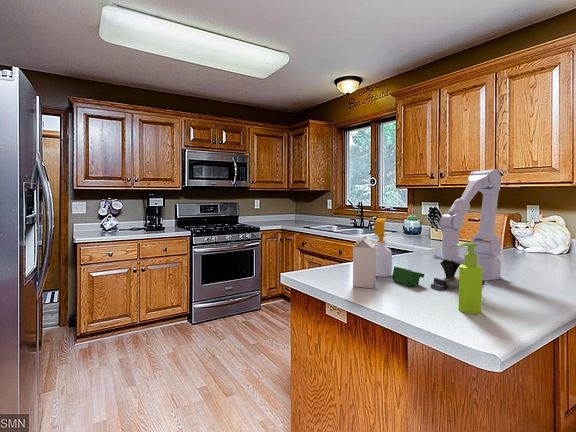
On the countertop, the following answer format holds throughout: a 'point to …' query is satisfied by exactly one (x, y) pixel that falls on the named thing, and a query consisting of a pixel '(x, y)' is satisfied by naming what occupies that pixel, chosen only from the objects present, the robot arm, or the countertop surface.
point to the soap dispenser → (470, 282)
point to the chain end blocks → (446, 284)
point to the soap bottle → (382, 251)
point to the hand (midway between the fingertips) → (449, 280)
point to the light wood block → (452, 278)
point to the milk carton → (364, 263)
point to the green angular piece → (406, 276)
